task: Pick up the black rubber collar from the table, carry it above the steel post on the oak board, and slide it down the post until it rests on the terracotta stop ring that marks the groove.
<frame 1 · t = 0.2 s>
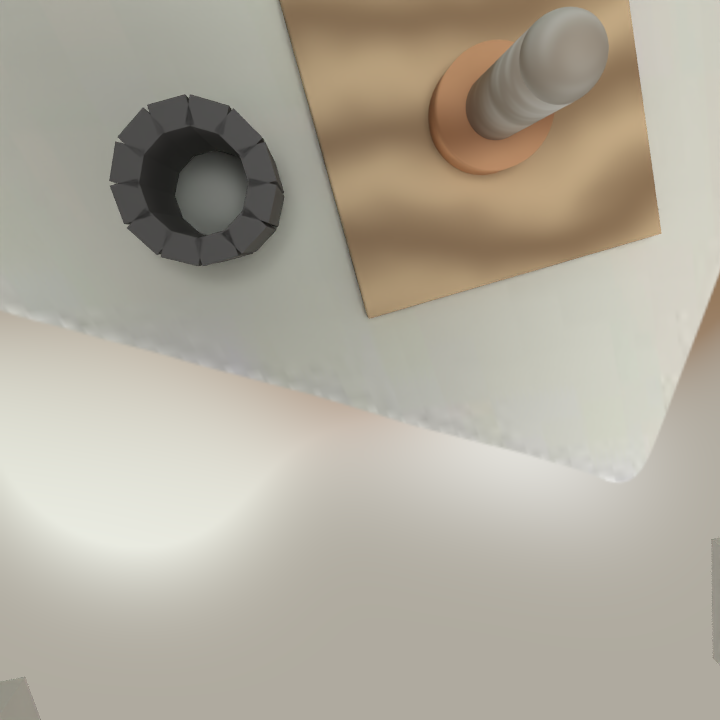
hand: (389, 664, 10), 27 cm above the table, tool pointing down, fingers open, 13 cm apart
rubber collar: (218, 195, 34), on the table
post stand: (475, 121, 34), on the table
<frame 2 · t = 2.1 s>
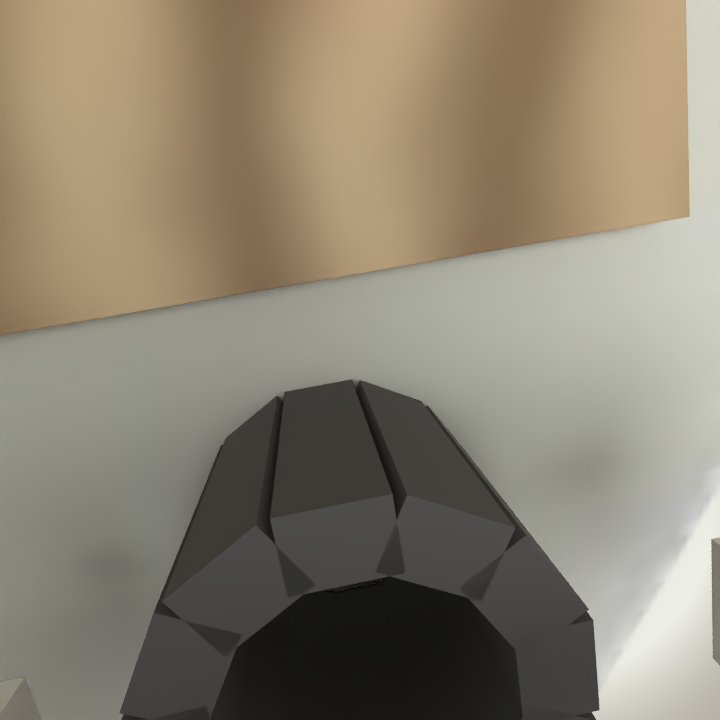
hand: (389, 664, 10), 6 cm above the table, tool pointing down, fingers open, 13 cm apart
rubber collar: (342, 513, 16), on the table
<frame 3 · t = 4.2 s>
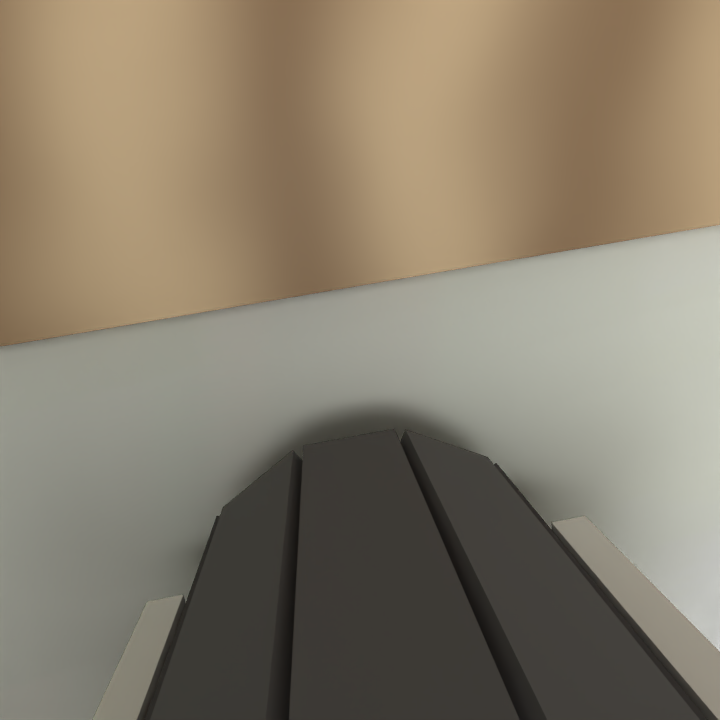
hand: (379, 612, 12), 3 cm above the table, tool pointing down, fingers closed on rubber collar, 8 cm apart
rubber collar: (378, 603, 12), point 3 cm above the table, touching gripper
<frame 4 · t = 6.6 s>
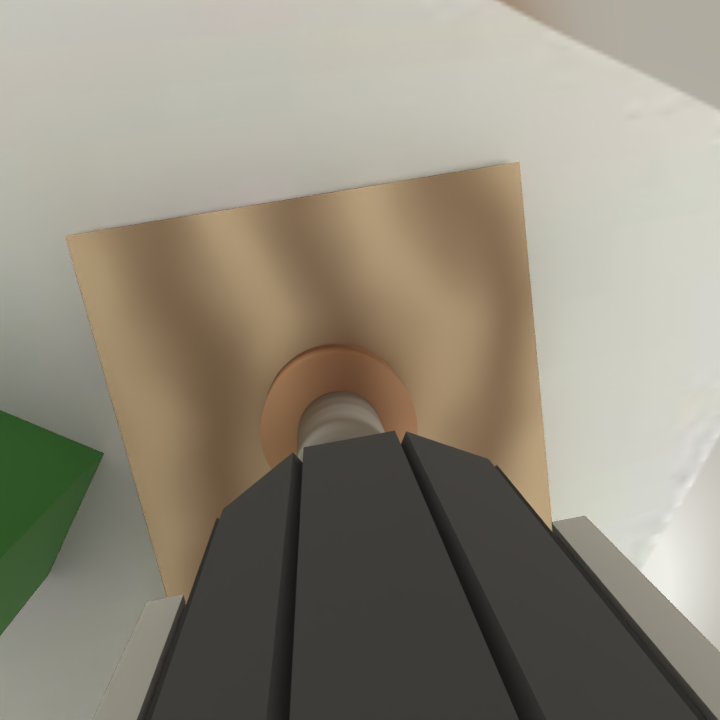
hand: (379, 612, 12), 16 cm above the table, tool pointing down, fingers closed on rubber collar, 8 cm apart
rubber collar: (379, 606, 12), point 15 cm above the table, touching gripper
post stand: (335, 404, 27), on the table
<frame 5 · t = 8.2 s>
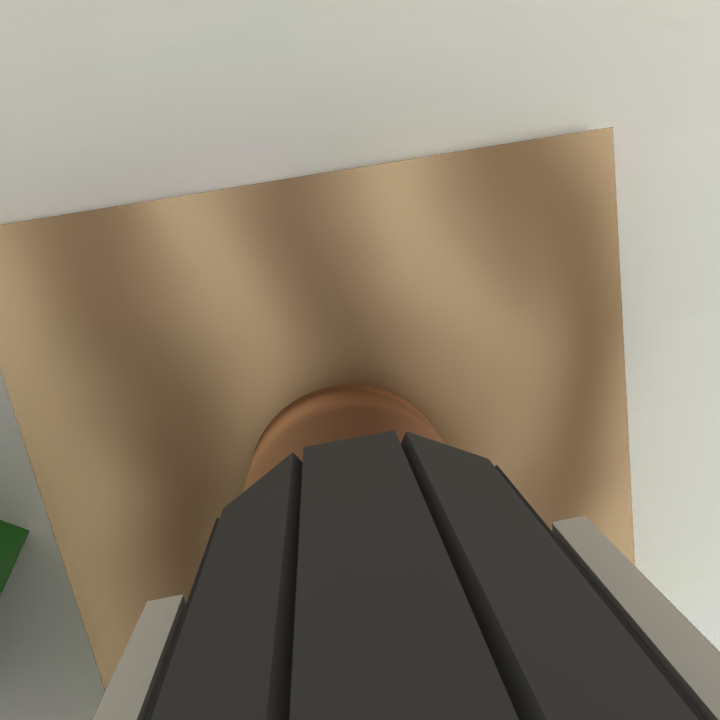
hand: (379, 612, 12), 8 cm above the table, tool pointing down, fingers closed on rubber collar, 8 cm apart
rubber collar: (378, 605, 12), point 8 cm above the table, touching gripper
post stand: (346, 462, 20), on the table
when the fingers open (5 cm above the table, at t = 9.2 s): rubber collar stays where it is, resting on post stand.
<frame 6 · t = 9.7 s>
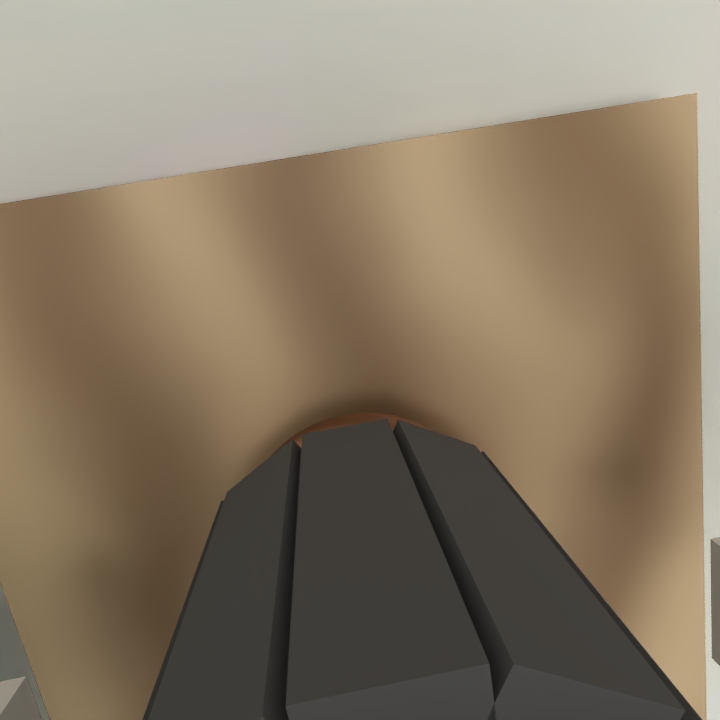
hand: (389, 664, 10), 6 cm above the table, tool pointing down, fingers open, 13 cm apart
rubber collar: (373, 583, 13), point 4 cm above the table, touching post stand
post stand: (360, 502, 16), on the table
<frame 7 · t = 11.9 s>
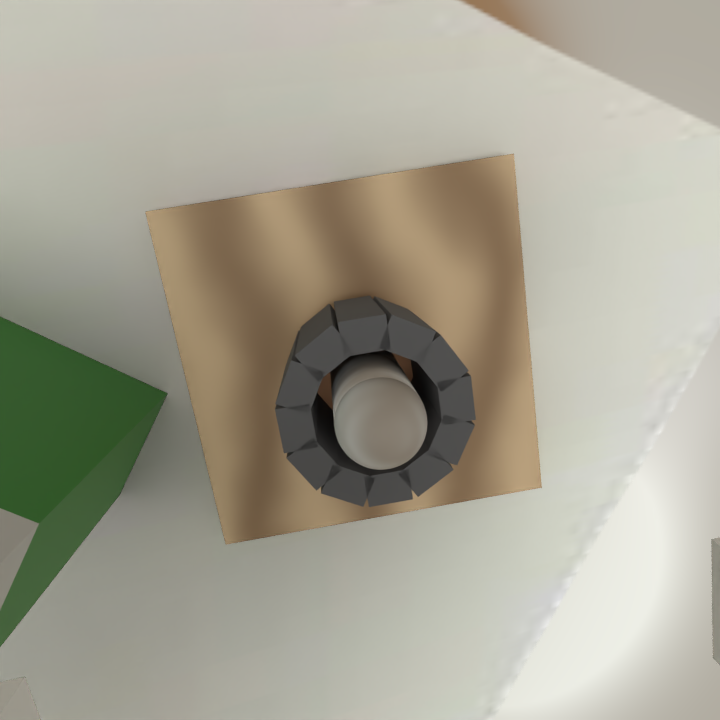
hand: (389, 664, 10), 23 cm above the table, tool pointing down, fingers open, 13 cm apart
rubber collar: (363, 372, 28), point 4 cm above the table, touching post stand
post stand: (358, 355, 32), on the table
hardback book: (1, 381, 31), on the table
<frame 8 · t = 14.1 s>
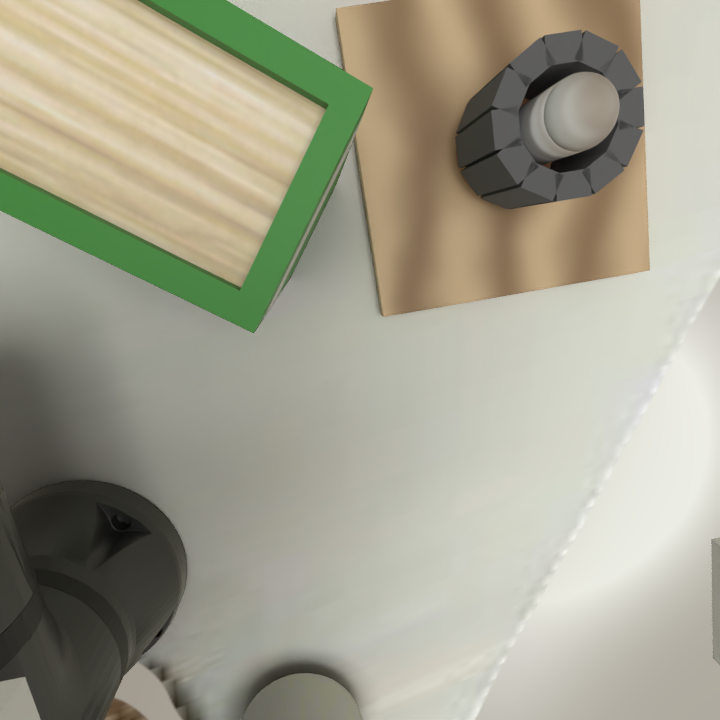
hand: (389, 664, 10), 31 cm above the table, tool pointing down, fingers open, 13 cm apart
rubber collar: (517, 143, 34), point 4 cm above the table, touching post stand
post stand: (497, 152, 38), on the table
teacup: (317, 710, 47), on the table
hardback book: (198, 170, 37), on the table
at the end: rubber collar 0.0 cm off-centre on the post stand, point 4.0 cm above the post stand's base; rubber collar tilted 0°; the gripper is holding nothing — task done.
